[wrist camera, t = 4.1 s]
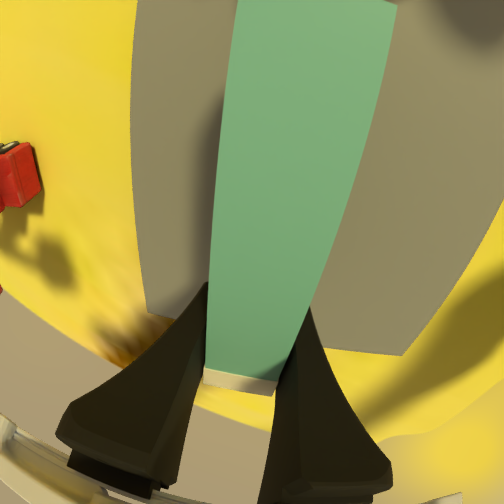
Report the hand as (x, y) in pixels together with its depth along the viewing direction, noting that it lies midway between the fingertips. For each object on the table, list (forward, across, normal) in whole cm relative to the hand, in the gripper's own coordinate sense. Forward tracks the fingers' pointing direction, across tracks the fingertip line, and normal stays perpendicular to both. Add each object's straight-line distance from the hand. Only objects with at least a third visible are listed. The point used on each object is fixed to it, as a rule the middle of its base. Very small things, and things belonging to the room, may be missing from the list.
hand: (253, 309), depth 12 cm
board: (+4, -2, -10) cm, 10 cm away
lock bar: (-1, 0, -4) cm, 4 cm away
